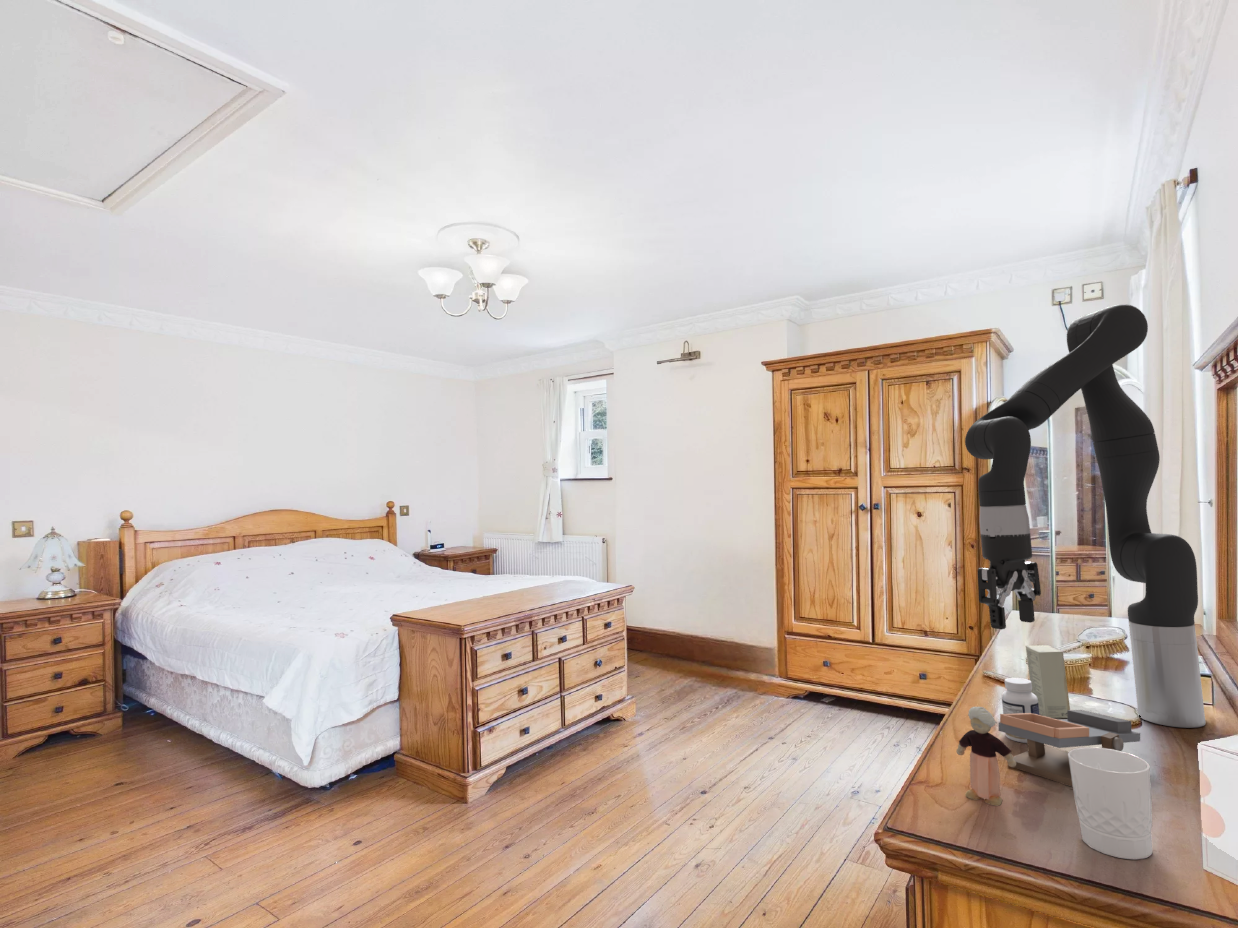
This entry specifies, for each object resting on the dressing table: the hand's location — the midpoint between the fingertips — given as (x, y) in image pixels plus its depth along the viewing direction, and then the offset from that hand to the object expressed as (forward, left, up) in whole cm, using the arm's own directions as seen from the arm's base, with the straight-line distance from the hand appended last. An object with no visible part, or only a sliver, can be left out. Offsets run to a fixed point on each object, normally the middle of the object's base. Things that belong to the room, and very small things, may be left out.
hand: (1013, 625), depth 112 cm
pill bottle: (0, 0, -19) cm, 19 cm away
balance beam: (+8, +12, -13) cm, 20 cm away
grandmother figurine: (+26, +10, -19) cm, 34 cm away
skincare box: (-16, -4, -19) cm, 25 cm away
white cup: (+25, +25, -19) cm, 40 cm away
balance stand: (+8, +12, -19) cm, 24 cm away
